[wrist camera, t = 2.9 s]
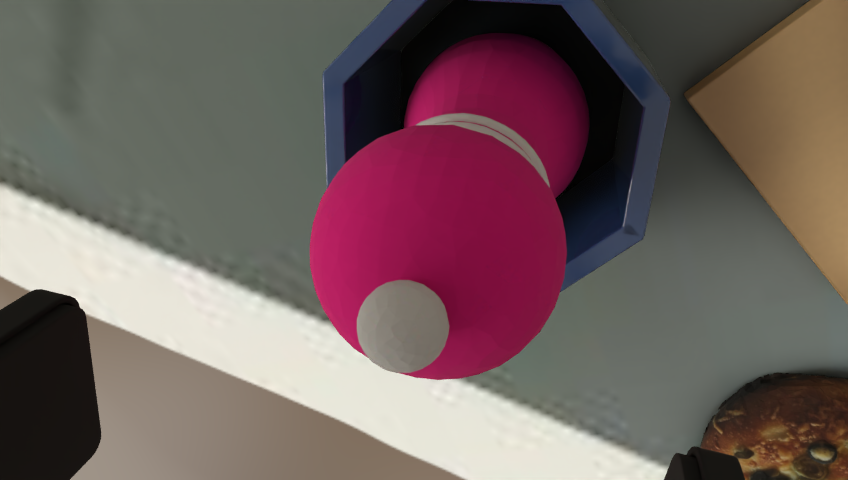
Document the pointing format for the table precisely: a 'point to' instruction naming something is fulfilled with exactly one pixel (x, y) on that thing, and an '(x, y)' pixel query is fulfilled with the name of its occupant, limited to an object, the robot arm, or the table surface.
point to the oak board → (791, 126)
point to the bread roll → (785, 428)
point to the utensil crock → (580, 206)
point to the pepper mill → (456, 213)
